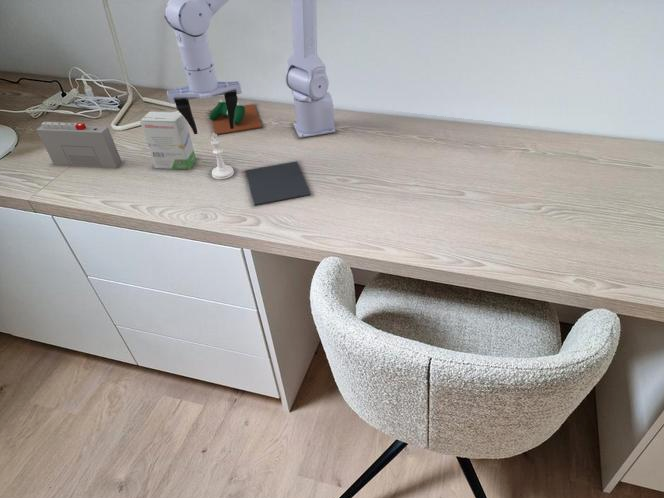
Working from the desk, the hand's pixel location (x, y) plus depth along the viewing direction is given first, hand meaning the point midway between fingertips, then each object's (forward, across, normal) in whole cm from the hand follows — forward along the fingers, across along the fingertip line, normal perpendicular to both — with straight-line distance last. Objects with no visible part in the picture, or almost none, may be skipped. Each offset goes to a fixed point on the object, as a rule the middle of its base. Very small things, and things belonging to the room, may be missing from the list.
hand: (213, 129), depth 106 cm
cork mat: (+10, +6, +24) cm, 27 cm away
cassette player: (+10, -30, +13) cm, 35 cm away
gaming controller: (+10, +4, +25) cm, 27 cm away
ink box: (+10, -10, +6) cm, 16 cm away
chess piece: (+10, 0, -2) cm, 10 cm away
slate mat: (+10, +11, -10) cm, 17 cm away
